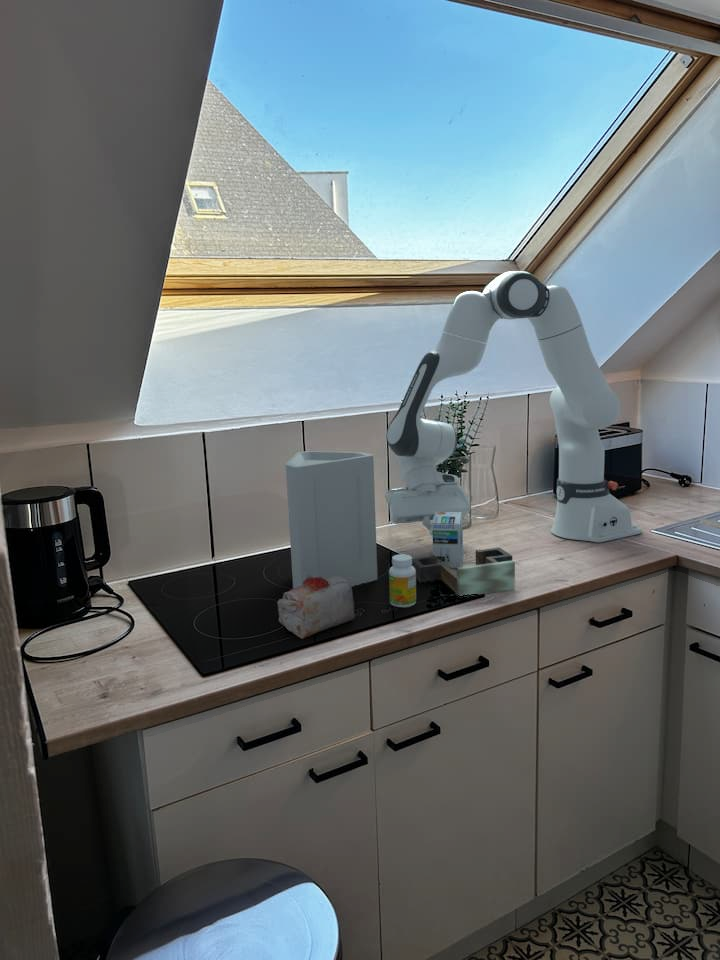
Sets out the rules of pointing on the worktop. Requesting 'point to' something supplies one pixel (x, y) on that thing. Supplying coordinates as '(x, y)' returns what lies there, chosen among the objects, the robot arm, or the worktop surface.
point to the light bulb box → (448, 538)
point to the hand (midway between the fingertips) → (437, 533)
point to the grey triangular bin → (332, 516)
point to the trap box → (471, 573)
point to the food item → (316, 605)
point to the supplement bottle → (402, 581)
